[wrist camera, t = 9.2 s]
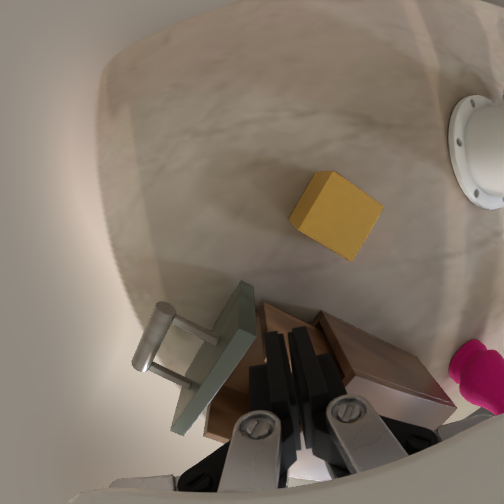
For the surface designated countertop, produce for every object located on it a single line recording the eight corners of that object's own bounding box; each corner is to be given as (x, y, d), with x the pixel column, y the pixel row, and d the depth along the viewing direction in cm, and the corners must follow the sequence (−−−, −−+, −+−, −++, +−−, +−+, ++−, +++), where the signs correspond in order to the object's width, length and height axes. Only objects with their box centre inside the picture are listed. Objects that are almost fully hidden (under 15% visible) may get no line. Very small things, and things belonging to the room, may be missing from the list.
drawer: (140, 350, 25) (112, 403, 17) (187, 250, 22) (159, 287, 15) (299, 415, 28) (310, 469, 20) (364, 340, 25) (396, 391, 18)
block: (316, 171, 22) (332, 170, 17) (360, 200, 23) (384, 206, 18) (287, 219, 23) (297, 230, 18) (333, 246, 24) (351, 262, 19)
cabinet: (253, 399, 28) (255, 470, 18) (321, 309, 25) (355, 375, 16) (351, 427, 30) (371, 483, 21) (416, 356, 27) (457, 408, 18)
